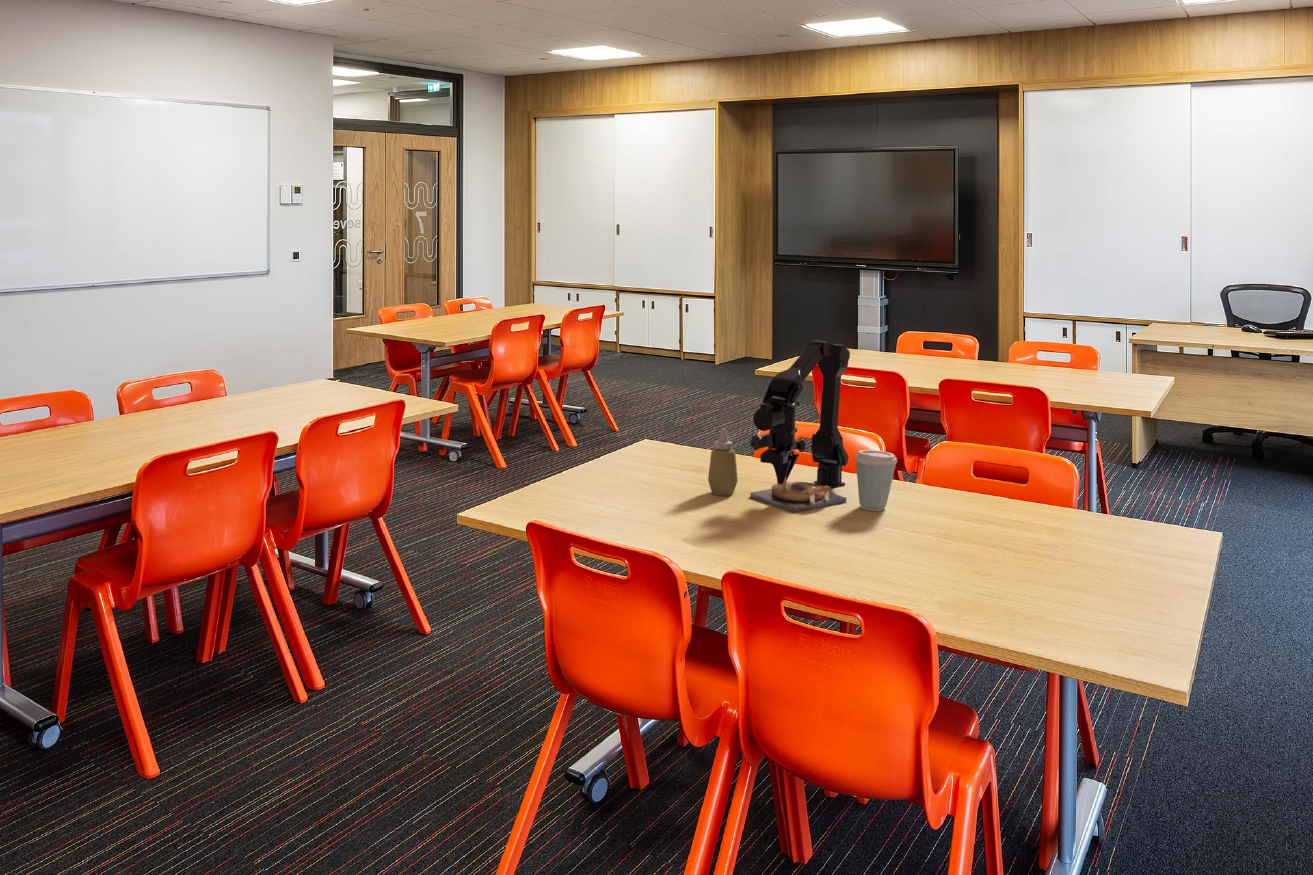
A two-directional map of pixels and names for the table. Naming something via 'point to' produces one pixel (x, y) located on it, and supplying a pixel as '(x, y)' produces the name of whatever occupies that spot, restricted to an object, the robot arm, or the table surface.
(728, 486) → the squeeze bottle
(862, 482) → the disposable coffee cup
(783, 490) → the cam dial
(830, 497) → the level stand
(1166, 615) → the table surface
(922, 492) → the table surface
